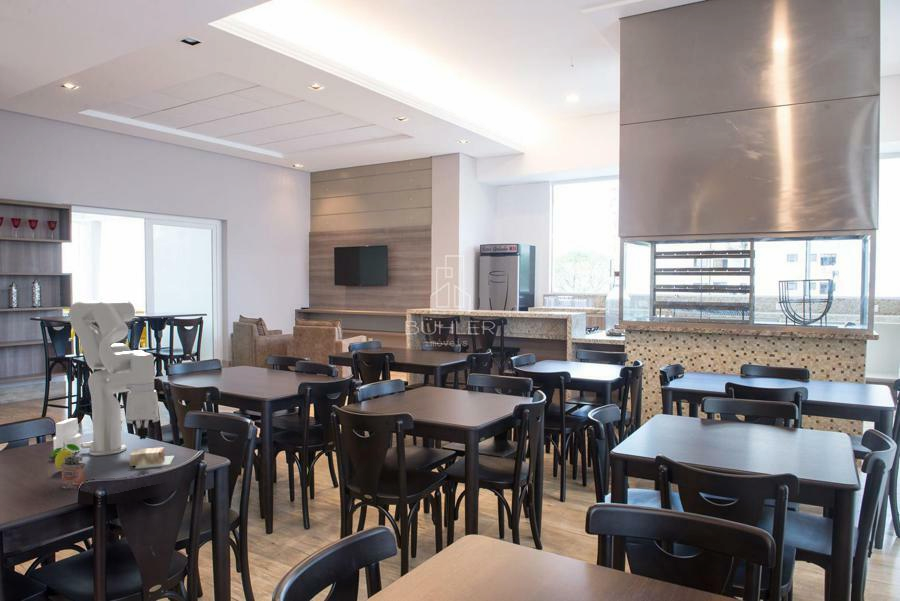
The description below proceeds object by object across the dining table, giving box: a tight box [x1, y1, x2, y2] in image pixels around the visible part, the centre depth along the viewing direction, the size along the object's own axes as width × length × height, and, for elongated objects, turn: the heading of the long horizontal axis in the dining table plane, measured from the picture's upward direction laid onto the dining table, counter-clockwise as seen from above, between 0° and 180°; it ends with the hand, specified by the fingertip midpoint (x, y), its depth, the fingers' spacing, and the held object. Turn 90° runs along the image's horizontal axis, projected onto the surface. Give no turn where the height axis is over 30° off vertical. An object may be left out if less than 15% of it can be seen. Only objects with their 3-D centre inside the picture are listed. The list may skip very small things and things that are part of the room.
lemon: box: [50, 442, 80, 470], centre depth 208 cm, size 7×6×10 cm
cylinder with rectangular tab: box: [52, 417, 82, 454], centre depth 232 cm, size 9×9×12 cm
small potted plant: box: [61, 454, 86, 490], centre depth 191 cm, size 8×3×10 cm, turn 76°
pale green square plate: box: [135, 455, 175, 469], centre depth 216 cm, size 11×11×1 cm
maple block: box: [129, 446, 165, 467], centre depth 215 cm, size 4×7×10 cm
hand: (143, 438), depth 215 cm, fingers closed
